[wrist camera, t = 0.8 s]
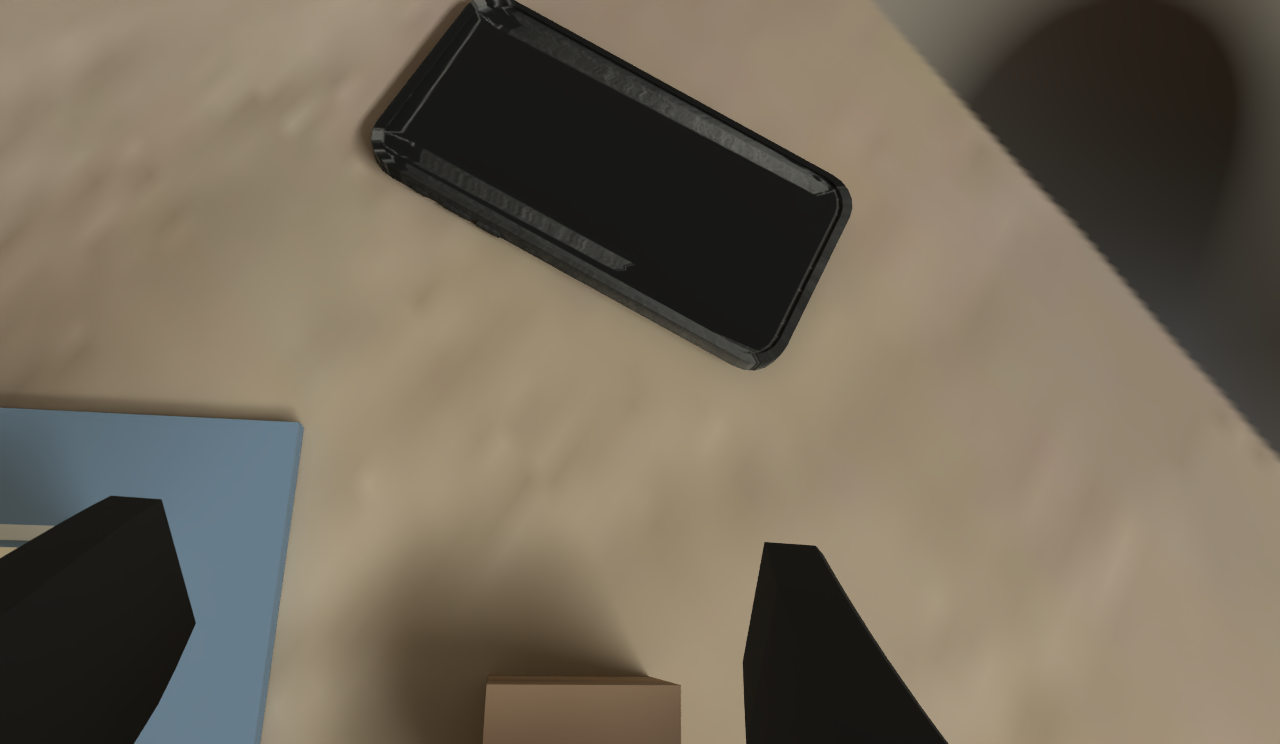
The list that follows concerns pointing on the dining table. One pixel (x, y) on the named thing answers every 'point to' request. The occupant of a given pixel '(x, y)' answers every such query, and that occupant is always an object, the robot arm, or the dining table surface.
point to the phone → (616, 180)
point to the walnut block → (581, 710)
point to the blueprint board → (176, 537)
